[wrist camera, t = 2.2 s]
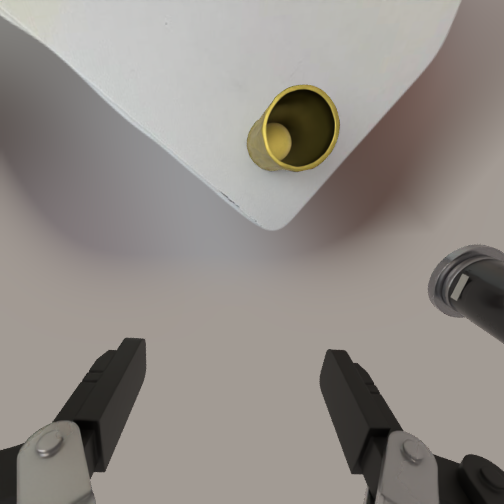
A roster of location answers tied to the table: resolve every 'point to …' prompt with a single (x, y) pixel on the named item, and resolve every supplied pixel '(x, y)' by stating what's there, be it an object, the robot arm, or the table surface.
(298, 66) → the table surface
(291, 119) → the vase
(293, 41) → the table surface
